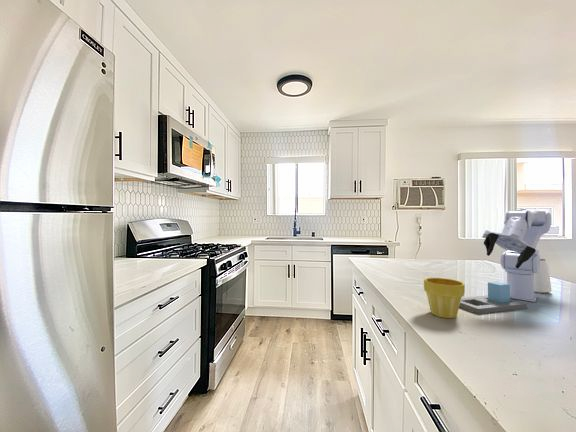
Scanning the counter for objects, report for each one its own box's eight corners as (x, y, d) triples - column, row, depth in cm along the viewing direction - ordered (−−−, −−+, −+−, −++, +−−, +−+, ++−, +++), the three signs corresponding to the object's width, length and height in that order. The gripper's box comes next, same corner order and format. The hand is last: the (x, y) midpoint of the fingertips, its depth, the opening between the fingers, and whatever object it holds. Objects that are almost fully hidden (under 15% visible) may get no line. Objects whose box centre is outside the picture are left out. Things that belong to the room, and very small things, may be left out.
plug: (488, 303, 87) (487, 282, 87) (497, 302, 88) (497, 281, 88) (500, 307, 83) (500, 285, 83) (510, 306, 84) (509, 284, 84)
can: (556, 292, 96) (551, 260, 97) (535, 293, 98) (531, 260, 98) (544, 288, 102) (539, 258, 103) (524, 289, 104) (520, 259, 105)
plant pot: (467, 313, 78) (467, 280, 78) (461, 324, 70) (461, 287, 70) (429, 306, 84) (428, 275, 85) (419, 314, 77) (419, 281, 77)
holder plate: (450, 303, 87) (449, 299, 87) (494, 299, 91) (494, 294, 91) (478, 314, 77) (478, 308, 77) (527, 308, 82) (526, 303, 82)
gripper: (493, 216, 89) (482, 240, 82) (547, 236, 81) (540, 263, 74) (484, 230, 94) (473, 254, 87) (534, 250, 86) (526, 277, 79)
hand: (503, 259), depth 81 cm, fingers open, 7 cm apart
